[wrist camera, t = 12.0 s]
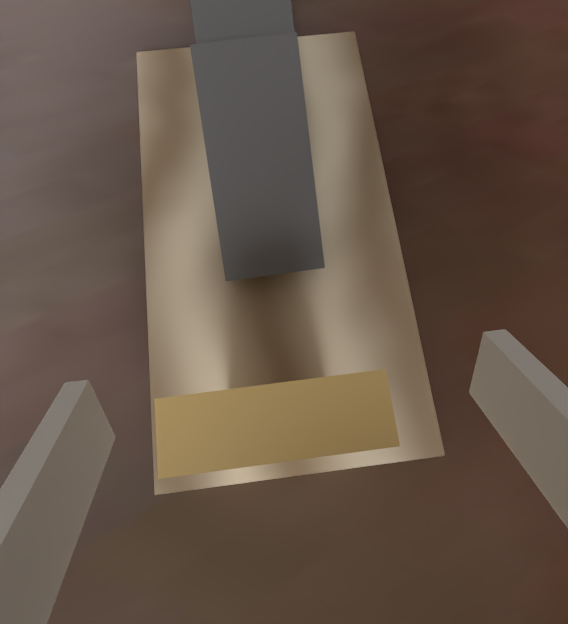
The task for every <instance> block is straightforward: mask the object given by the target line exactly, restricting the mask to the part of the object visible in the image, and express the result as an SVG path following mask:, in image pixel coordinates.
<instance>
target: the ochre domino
mask: <svg viewBox="0 0 568 624" xmlns="http://www.w3.org/2000/svg"><path fill="white" fill-rule="evenodd" d="M154 401H155V423H156V446H157V468H158V479H162V478H170V477H177V476H184V475H192V474H199V473H206V472H214V471H221V470H229V469H236V468H243V467H251V466H258V465H265V464H273V463H280V462H287V461H295V460H302V459H310V458H317V457H324V456H332V455H339V454H346V453H354V452H361V451H368V450H376V449H383V448H391V447H398V446H400V443H399V437H398V432H397V427H396V422H395V416H394V411H393V406H392V400H391V395H390V390H389V384H388V379H387V374H386V369H382V370H374V371H366V372H358V373H351V374H343V375H335V376H327V377H320V378H312V379H304V380H296V381H288V382H281V383H273V384H265V385H257V386H249V387H242V388H234V389H226V390H218V391H211V392H203V393H195V394H187V395H179V396H172V397H164V398H156V399H154Z"/></svg>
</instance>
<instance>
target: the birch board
mask: <svg viewBox="0 0 568 624" xmlns="http://www.w3.org/2000/svg"><path fill="white" fill-rule="evenodd" d="M298 45H299V54H300V62H301V71H302V79H303V88H304V96H305V104H306V113H307V121H308V130H309V138H310V146H311V155H312V163H313V172H314V180H315V189H316V197H317V205H318V214H319V222H320V231H321V239H322V247H323V256H324V264H325V268H321V269H313V270H306V271H298V272H291V273H284V274H276V275H269V276H261V277H254V278H246V279H239V280H232V281H225V274H224V268H223V261H222V254H221V248H220V241H219V235H218V228H217V221H216V215H215V208H214V202H213V195H212V188H211V182H210V175H209V169H208V162H207V155H206V149H205V142H204V136H203V129H202V122H201V116H200V109H199V103H198V96H197V89H196V83H195V76H194V70H193V63H192V56H191V50H190V47H185V48H175V49H165V50H154V51H144V52H137V75H138V100H139V124H140V148H141V173H142V197H143V222H144V246H145V270H146V295H147V319H148V343H149V368H150V392H151V416H152V441H153V465H154V490H155V495H158V494H166V493H173V492H180V491H188V490H195V489H202V488H210V487H217V486H225V485H232V484H239V483H247V482H254V481H261V480H269V479H276V478H284V477H291V476H298V475H306V474H313V473H320V472H328V471H335V470H342V469H350V468H357V467H365V466H372V465H379V464H387V463H394V462H401V461H409V460H416V459H424V458H431V457H438V456H445V454H444V449H443V444H442V440H441V435H440V430H439V426H438V421H437V416H436V411H435V407H434V402H433V397H432V393H431V388H430V383H429V379H428V374H427V369H426V364H425V360H424V355H423V350H422V346H421V341H420V336H419V332H418V327H417V322H416V317H415V313H414V308H413V303H412V299H411V294H410V289H409V285H408V280H407V275H406V270H405V266H404V261H403V256H402V252H401V247H400V242H399V238H398V233H397V228H396V223H395V219H394V214H393V209H392V205H391V200H390V195H389V191H388V186H387V181H386V176H385V172H384V167H383V162H382V158H381V153H380V148H379V144H378V139H377V134H376V129H375V125H374V120H373V115H372V111H371V106H370V101H369V96H368V92H367V87H366V82H365V78H364V73H363V68H362V64H361V59H360V54H359V49H358V45H357V40H356V35H355V31H353V32H342V33H332V34H321V35H311V36H300V37H298ZM382 369H386V374H387V379H388V384H389V390H390V395H391V400H392V406H393V411H394V416H395V422H396V427H397V432H398V437H399V443H400V446H398V447H391V448H383V449H376V450H368V451H361V452H354V453H346V454H339V455H332V456H324V457H317V458H310V459H302V460H295V461H287V462H280V463H273V464H265V465H258V466H251V467H243V468H236V469H229V470H221V471H214V472H206V473H199V474H192V475H184V476H177V477H170V478H162V479H158V468H157V446H156V423H155V401H154V399H156V398H164V397H172V396H179V395H187V394H195V393H203V392H211V391H218V390H226V389H234V388H242V387H249V386H257V385H265V384H273V383H281V382H288V381H296V380H304V379H312V378H320V377H327V376H335V375H343V374H351V373H358V372H366V371H374V370H382Z"/></svg>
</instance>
